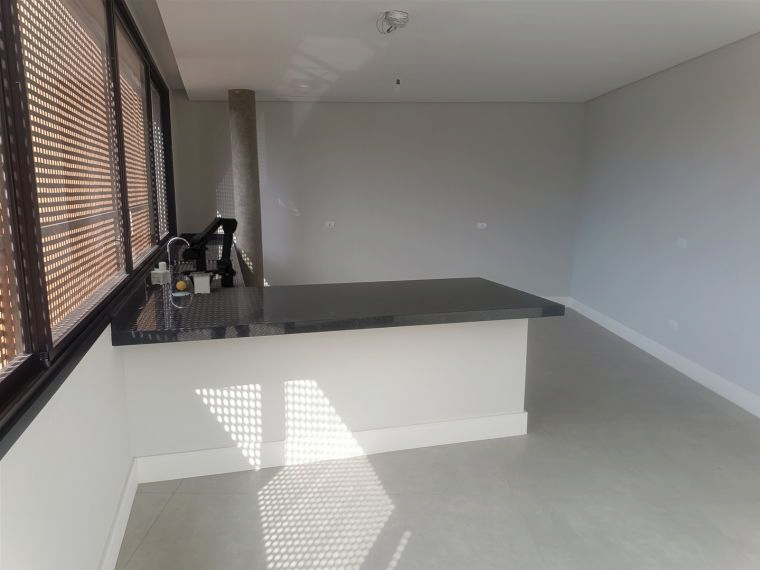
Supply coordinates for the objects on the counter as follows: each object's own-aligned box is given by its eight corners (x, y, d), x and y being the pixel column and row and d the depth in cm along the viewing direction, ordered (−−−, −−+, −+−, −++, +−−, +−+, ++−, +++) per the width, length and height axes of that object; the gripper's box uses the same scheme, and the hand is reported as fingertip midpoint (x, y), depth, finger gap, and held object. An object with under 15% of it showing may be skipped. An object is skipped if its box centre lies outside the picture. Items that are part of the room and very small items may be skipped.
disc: (190, 291, 287) (190, 291, 287) (190, 295, 278) (190, 295, 278) (171, 293, 284) (171, 292, 284) (170, 296, 275) (170, 296, 275)
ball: (186, 289, 295) (185, 280, 294) (186, 290, 291) (185, 281, 290) (176, 289, 294) (176, 280, 293) (176, 291, 289) (176, 282, 288)
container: (151, 284, 309) (149, 262, 307) (160, 282, 317) (159, 260, 314) (162, 285, 307) (161, 263, 305) (171, 282, 314) (169, 261, 312)
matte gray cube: (209, 290, 292) (208, 274, 290) (209, 293, 285) (209, 277, 283) (195, 291, 290) (194, 275, 288) (194, 293, 282) (193, 277, 281)
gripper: (218, 256, 294) (219, 284, 297) (182, 257, 289) (184, 285, 291) (218, 259, 284) (220, 287, 287) (182, 260, 278) (183, 289, 281)
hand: (202, 287), depth 287 cm, fingers closed on matte gray cube, 8 cm apart
